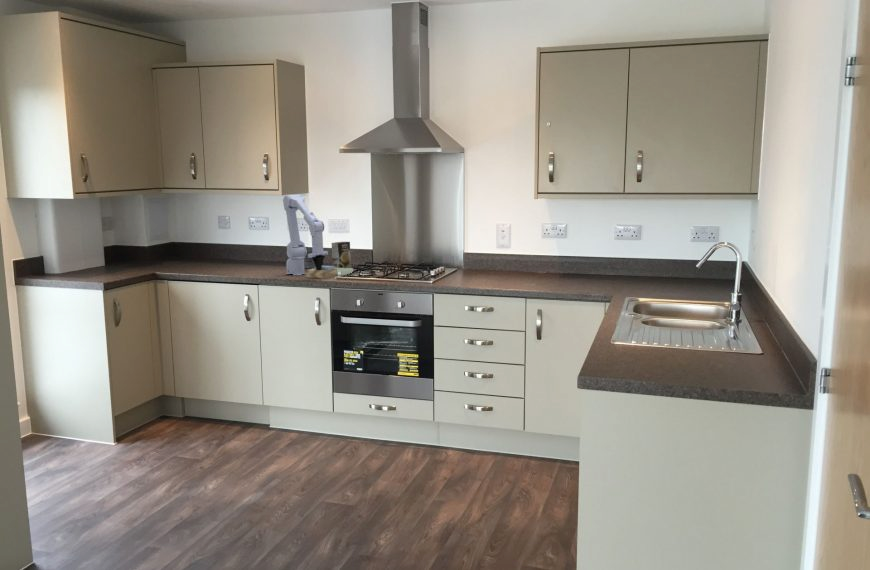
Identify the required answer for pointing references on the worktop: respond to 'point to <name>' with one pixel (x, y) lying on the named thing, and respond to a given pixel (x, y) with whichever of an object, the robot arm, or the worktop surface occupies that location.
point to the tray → (344, 271)
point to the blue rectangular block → (326, 268)
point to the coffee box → (341, 255)
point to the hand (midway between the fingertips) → (318, 269)
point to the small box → (309, 261)
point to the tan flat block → (321, 273)
